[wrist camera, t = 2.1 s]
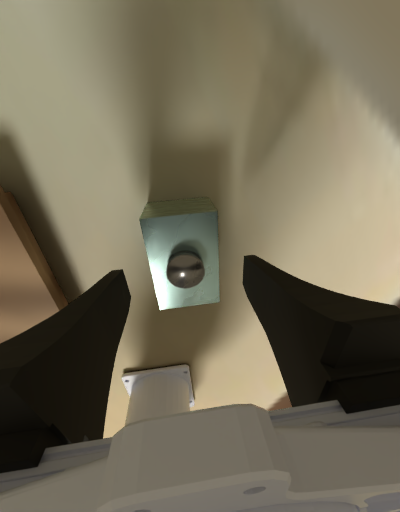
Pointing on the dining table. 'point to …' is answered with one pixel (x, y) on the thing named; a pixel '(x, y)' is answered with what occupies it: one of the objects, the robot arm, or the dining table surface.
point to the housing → (182, 251)
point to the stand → (23, 275)
